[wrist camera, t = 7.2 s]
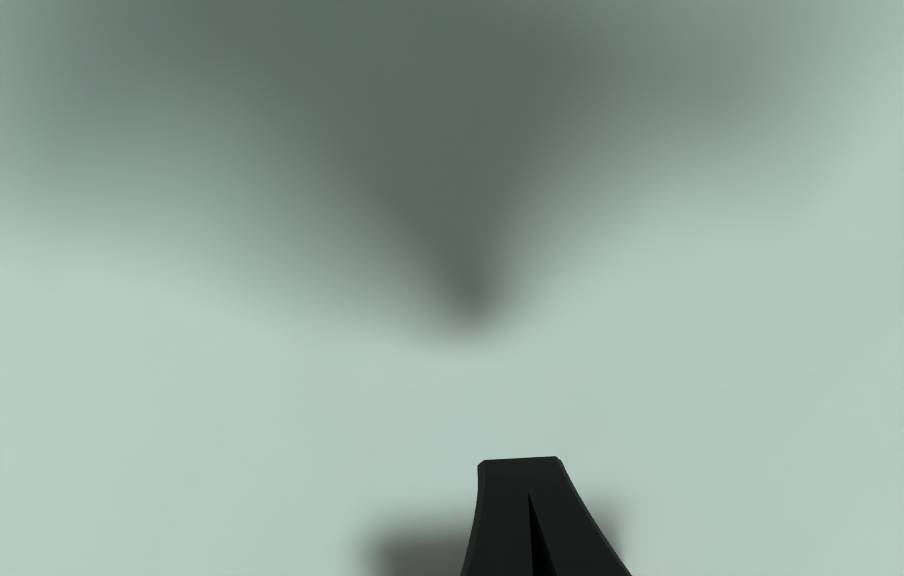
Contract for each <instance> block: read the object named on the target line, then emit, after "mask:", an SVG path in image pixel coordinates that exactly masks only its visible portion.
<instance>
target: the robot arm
mask: <svg viewBox="0 0 904 576" xmlns="http://www.w3.org/2000/svg"><path fill="white" fill-rule="evenodd" d="M460 576H632V575H631V574H630V572H629V571H628V570H627V568H626V567H625V565H624V564H623V563H622V561H621V560H620V558H619V557H618V555H617V554H616V553H615V551H614V550H613V548H612V547H611V545H610V544H609V542H608V541H607V539H606V538H605V536H604V535H603V533H602V532H601V530H600V529H599V527H598V526H597V524H596V523H595V521H594V519H593V518H592V516H591V515H590V513H589V511H588V510H587V508H586V506H585V505H584V503H583V501H582V500H581V498H580V496H579V494H578V493H577V491H576V489H575V487H574V485H573V483H572V482H571V480H570V478H569V476H568V474H567V472H566V470H565V468H564V465H563V463H562V461H561V460H559V459H558V458H557V457H556V456H551V457H532V458H514V459H495V460H484V461H482V462H481V463H480V464H479V465H478V494H477V503H476V509H475V515H474V522H473V527H472V531H471V535H470V540H469V544H468V548H467V553H466V557H465V561H464V565H463V568H462V572H461V575H460Z"/></svg>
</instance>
